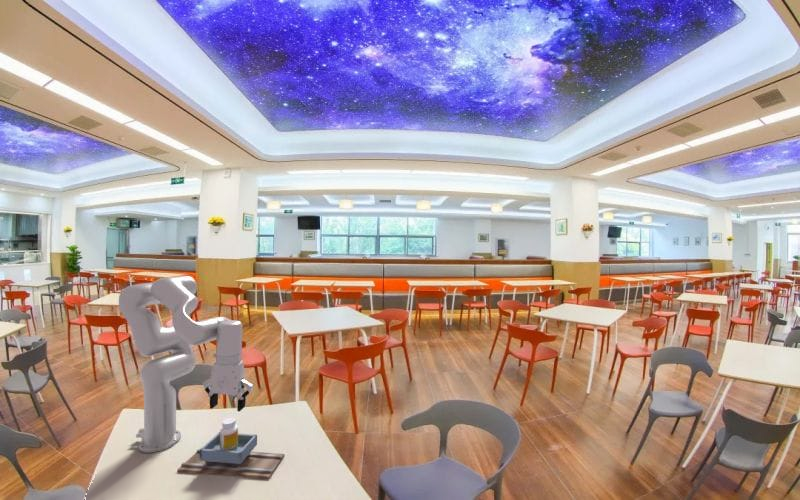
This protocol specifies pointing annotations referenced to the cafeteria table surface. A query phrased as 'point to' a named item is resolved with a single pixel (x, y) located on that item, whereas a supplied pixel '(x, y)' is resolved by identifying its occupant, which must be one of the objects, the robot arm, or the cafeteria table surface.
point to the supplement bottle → (229, 435)
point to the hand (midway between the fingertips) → (227, 408)
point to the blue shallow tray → (214, 454)
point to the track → (250, 467)
